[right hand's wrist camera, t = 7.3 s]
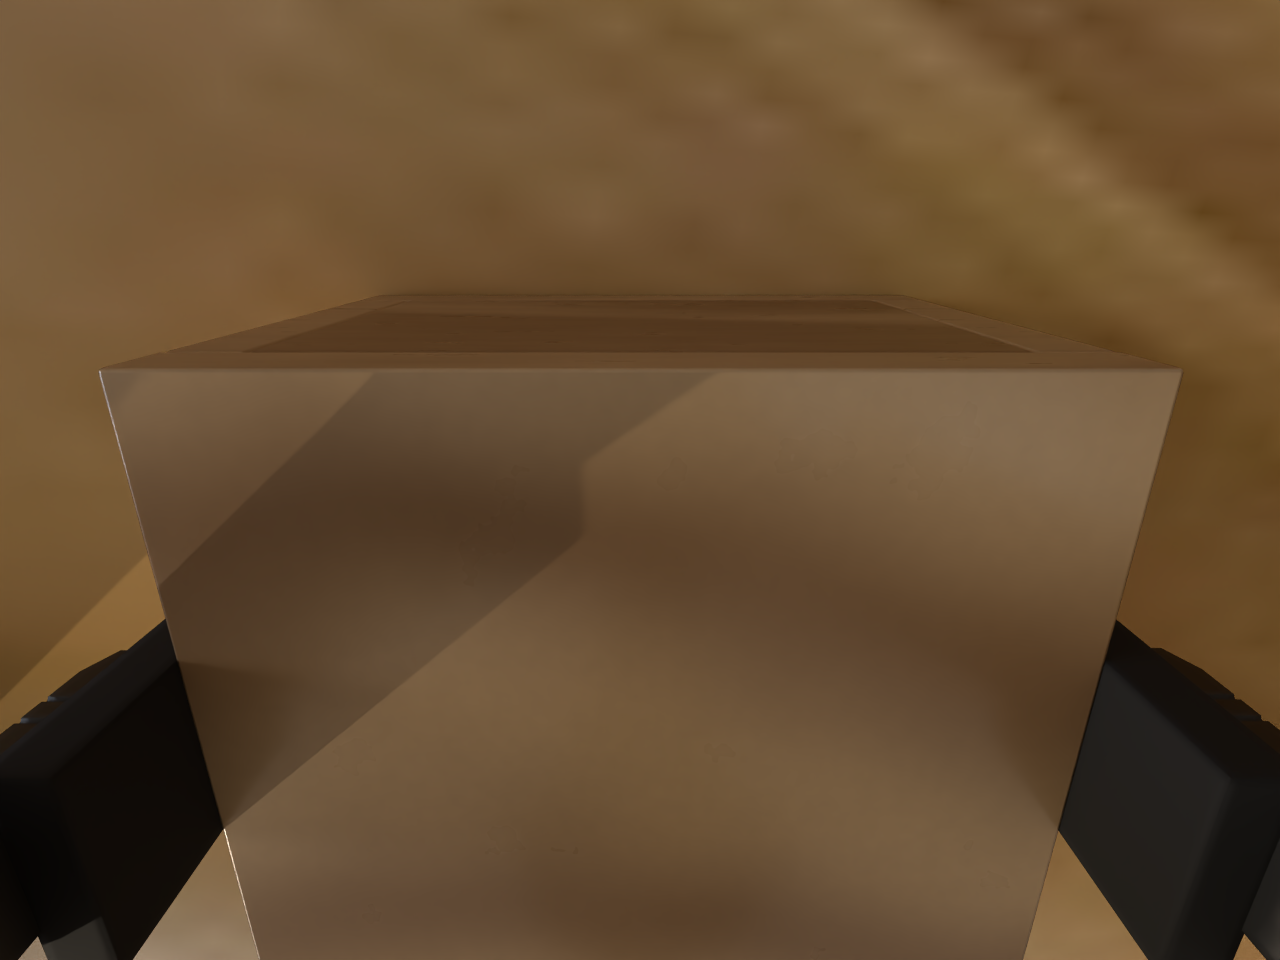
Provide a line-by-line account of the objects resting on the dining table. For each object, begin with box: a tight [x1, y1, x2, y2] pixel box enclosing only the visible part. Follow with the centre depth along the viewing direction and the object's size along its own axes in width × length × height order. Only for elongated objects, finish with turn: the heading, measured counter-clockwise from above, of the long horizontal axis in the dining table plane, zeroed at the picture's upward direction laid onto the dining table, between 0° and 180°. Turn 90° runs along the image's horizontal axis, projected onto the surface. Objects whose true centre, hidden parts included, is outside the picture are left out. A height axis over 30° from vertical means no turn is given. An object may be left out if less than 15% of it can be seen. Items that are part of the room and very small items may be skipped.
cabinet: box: [99, 295, 1183, 960], centre depth 14 cm, size 17×11×8 cm
